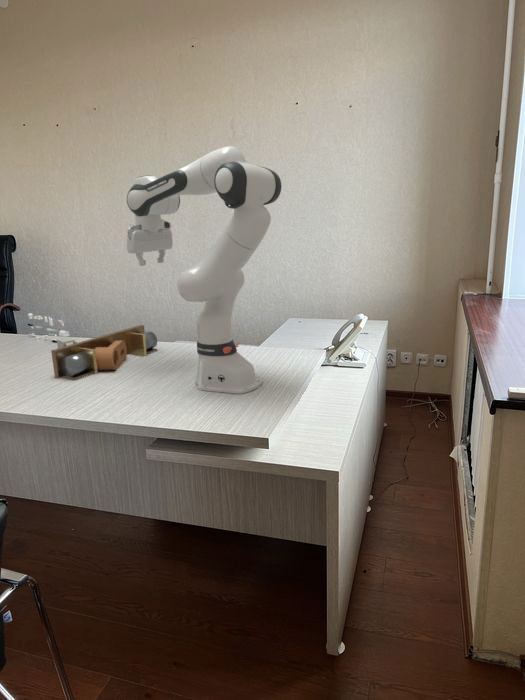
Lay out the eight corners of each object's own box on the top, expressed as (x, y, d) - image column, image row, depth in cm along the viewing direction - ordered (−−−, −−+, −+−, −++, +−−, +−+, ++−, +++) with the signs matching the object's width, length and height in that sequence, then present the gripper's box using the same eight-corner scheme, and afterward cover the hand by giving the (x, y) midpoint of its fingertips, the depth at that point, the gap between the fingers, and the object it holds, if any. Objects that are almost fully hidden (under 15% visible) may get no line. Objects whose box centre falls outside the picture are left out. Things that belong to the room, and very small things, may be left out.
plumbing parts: (35, 335, 251) (31, 310, 247) (78, 345, 230) (74, 318, 226) (22, 338, 246) (18, 312, 243) (64, 349, 225) (61, 321, 222)
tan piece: (111, 350, 188) (92, 350, 188) (113, 372, 190) (94, 373, 190) (125, 338, 205) (107, 338, 205) (127, 358, 207) (110, 359, 207)
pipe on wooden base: (161, 350, 217) (159, 327, 215) (75, 382, 181) (71, 353, 178) (142, 348, 222) (140, 324, 220) (55, 377, 186) (51, 350, 184)
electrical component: (93, 358, 209) (91, 346, 208) (78, 362, 205) (76, 349, 204) (69, 347, 227) (68, 336, 225) (55, 350, 223) (54, 339, 222)
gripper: (134, 225, 176) (137, 267, 180) (174, 223, 193) (176, 261, 197) (120, 225, 180) (124, 267, 183) (161, 223, 196) (163, 261, 200)
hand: (151, 264), depth 190 cm, fingers open, 8 cm apart
